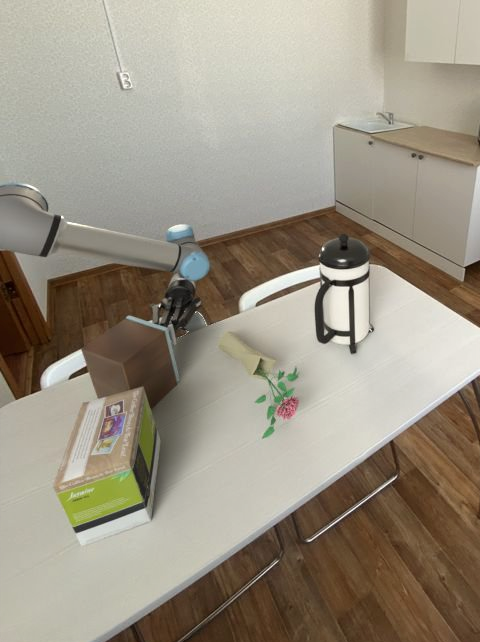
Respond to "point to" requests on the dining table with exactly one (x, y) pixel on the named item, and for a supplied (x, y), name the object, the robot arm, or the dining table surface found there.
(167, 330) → the door
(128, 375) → the cabinet
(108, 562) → the dining table surface
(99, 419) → the tea box
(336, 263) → the coffee press
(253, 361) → the flower vase
